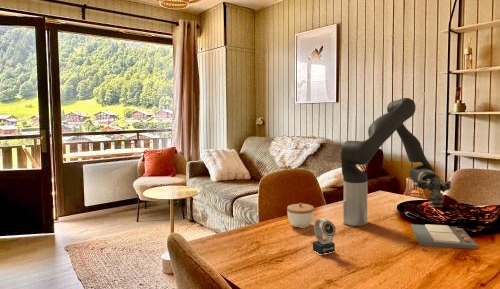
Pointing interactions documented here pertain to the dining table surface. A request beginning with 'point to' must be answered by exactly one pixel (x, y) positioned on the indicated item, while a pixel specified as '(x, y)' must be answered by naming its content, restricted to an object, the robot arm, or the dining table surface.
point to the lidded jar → (300, 214)
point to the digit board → (442, 236)
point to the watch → (328, 232)
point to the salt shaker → (436, 193)
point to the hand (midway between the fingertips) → (437, 188)
